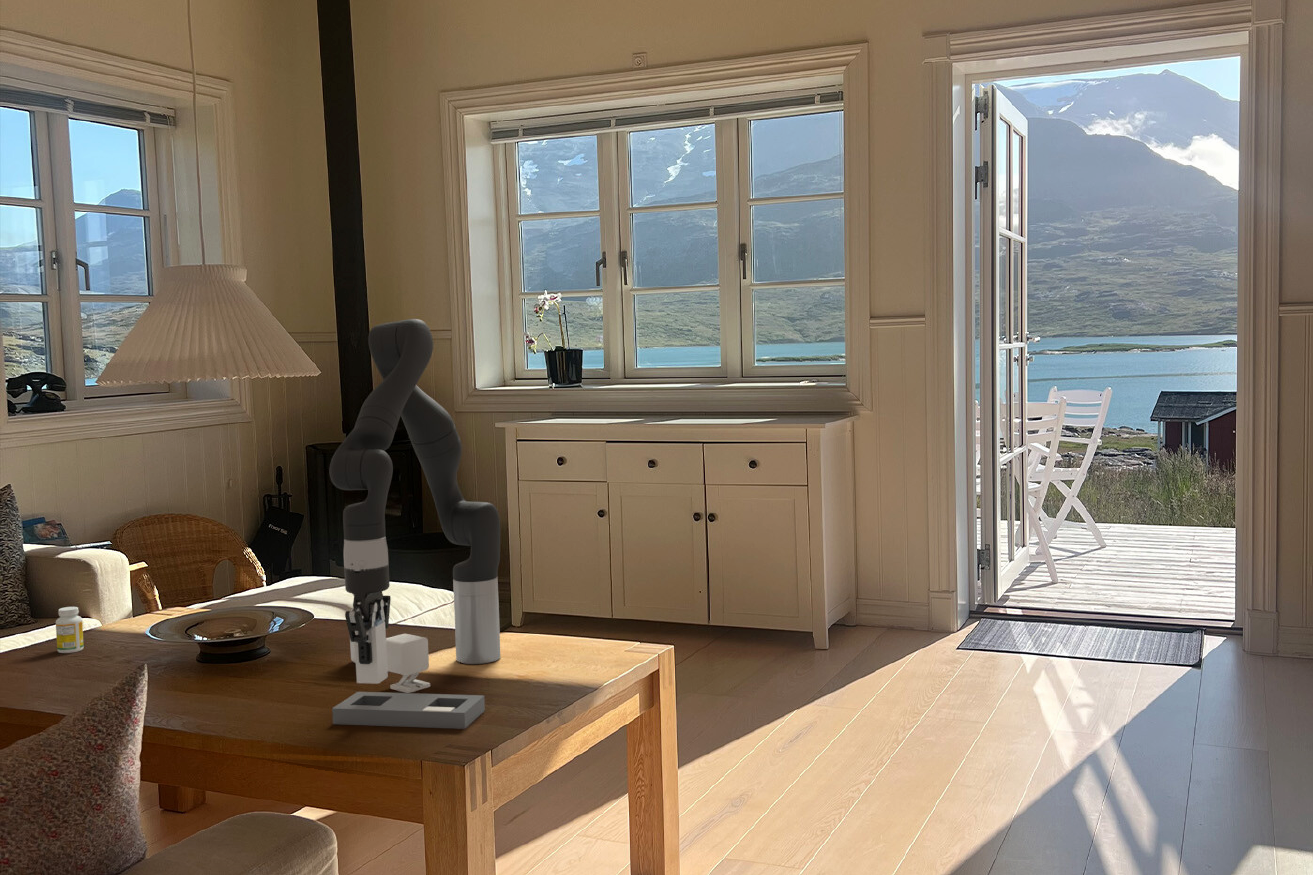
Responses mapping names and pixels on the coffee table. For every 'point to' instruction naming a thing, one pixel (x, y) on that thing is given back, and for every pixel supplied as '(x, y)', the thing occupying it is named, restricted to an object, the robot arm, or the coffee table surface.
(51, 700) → the coffee table surface
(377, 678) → the plug
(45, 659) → the coffee table surface
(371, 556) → the robot arm
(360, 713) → the socket panel
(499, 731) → the coffee table surface
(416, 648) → the white cube on bracket
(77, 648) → the supplement bottle
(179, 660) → the coffee table surface
